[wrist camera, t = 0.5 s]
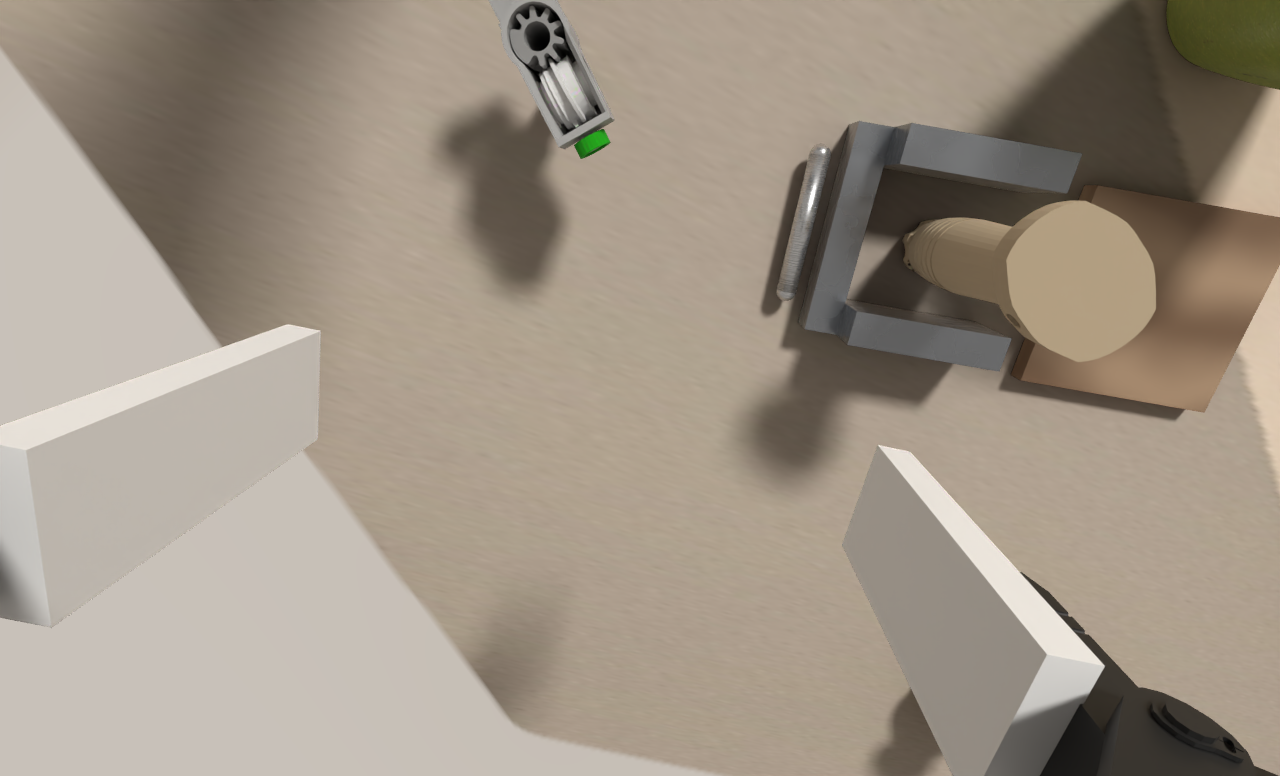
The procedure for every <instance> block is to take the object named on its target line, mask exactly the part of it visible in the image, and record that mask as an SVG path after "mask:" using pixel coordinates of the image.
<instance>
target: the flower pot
mask: <svg viewBox="0 0 1280 776" xmlns="http://www.w3.org/2000/svg"><path fill="white" fill-rule="evenodd" d="M1166 12H1167V27H1168V31H1169V34H1170V37H1171V40H1172V43H1173V44H1174V46H1175V48H1176V49H1177V50H1178V52H1179V53H1180V54H1181V55H1182V56H1183V57H1184V58H1185V59H1186V60H1188V61H1189V62H1191V63H1193V64H1195V65H1197V66H1199V67H1202V68H1204V69H1206V70H1209V71H1212V72H1215V73H1218V74H1222V75H1225V76H1228V77H1231V78H1235V79H1238V80H1242V81H1245V82H1249V83H1253V84H1257V85H1261V86H1266V87H1270V88H1275V89H1279V90H1280V0H1168V2H1167V10H1166Z"/></svg>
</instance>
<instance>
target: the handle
mask: <svg viewBox="0 0 1280 776" xmlns="http://www.w3.org/2000/svg"><path fill="white" fill-rule="evenodd" d="M903 243H904V245H905V257H904V258H903V262H904V263H905V265H906V266H907V267H908V268H909V269H910V270H912V271H916V272H917V273H918V274H919V275H920V276H921V277H923V278H924V279H925V280H927V281H929V282H931V283H932V284H934V285H936V286H938V287H940V288H942V289H945V290H947V291H950V292H952V293H955V294H959V295H963V296H967V297H971V298H975V299H980V300H984V301H988V302H992V303H996V304H999V306H1000V309H1001V310H1002V312H1003V314H1004V316H1005V317H1006V318H1007V319H1008V321H1009V322H1010V323H1011V324H1012V325H1013V326H1014V327H1015V328H1016V329H1017V330H1018V331H1019V332H1020V333H1021V334H1022V335H1023V336H1024V337H1026V338H1027V339H1029V340H1031V341H1033V342H1034V343H1036V344H1038V345H1040V346H1043V347H1045V348H1047V349H1049V350H1051V351H1053V352H1056V353H1058V354H1060V355H1062V356H1065V357H1067V358H1069V359H1072V360H1074V361H1076V362H1084V361H1090V360H1095V359H1099V358H1101V357H1103V356H1106V355H1108V354H1111V353H1112V352H1114V351H1116V350H1117V349H1119V348H1121V347H1122V346H1124V345H1125V344H1127V343H1128V342H1129V341H1130V340H1132V339H1133V338H1134V337H1135V336H1136V335H1137V334H1139V333H1140V332H1141V331H1142V330H1143V329H1144V327H1145V326H1146V325H1147V323H1148V322H1149V320H1150V319H1151V317H1152V316H1153V314H1154V312H1155V310H1156V282H1155V271H1154V265H1153V262H1152V260H1151V258H1150V256H1149V253H1148V252H1147V250H1146V248H1145V247H1144V245H1143V244H1142V242H1141V241H1140V239H1139V237H1138V236H1137V234H1136V233H1135V231H1134V230H1133V229H1132V228H1131V227H1130V225H1129V224H1128V223H1127V222H1126V221H1124V220H1123V219H1121V218H1120V217H1118V216H1117V215H1115V214H1113V213H1111V212H1109V211H1107V210H1105V209H1103V208H1100V207H1098V206H1096V205H1094V204H1092V203H1089V202H1087V201H1074V200H1071V201H1063V202H1056V203H1053V204H1049V205H1046V206H1043V207H1041V208H1039V209H1037V210H1035V211H1033V212H1031V213H1030V214H1028V215H1027V216H1025V217H1024V218H1022V219H1021V220H1020V221H1019V222H1018V223H1016V224H1015V225H1014V226H1013V227H1011V226H1007V225H1003V224H999V223H995V222H991V221H987V220H982V219H974V218H946V219H940V220H935V219H932V220H926V221H923V222H921V223H920V224H919V226H918V227H917V228H916V229H915V230H914V231H912V232H911V233H907V234H905V236H904V238H903Z"/></svg>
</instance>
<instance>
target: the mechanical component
mask: <svg viewBox="0 0 1280 776" xmlns="http://www.w3.org/2000/svg"><path fill="white" fill-rule="evenodd" d="M489 2H490V4H491V6H492V8H493V10H494V12H495V14H496V16H497V18H498V20H499V22H500V24H499V26H500V28H501V36H502V43H503V46H504V49H505V51H506V53H507V55H508V57H509V58H510V59H511V61H512V62H513V63H514V64H515V65H516V66H517V67H518V69H519V71H520V73H521V75H522V77H523V79H524V81H525V83H526V85H527V87H528V89H529V91H530V92H531V94H532V96H533V98H534V100H535V102H536V104H537V106H538V108H539V110H540V112H541V114H542V116H543V118H544V120H545V122H546V123H547V125H548V127H549V129H550V131H551V133H552V135H553V137H554V139H555V141H556V143H557V145H558V147H560V148H563V149H566V148H568V147H569V146H571V145H573V144H574V143H576V142H577V143H576V144H575V145H574V146H575V148H576V150H577V152H578V154H579V156H580V158H581V159H583V158H585V157H588V156H590V155H592V154H594V153H596V152H597V151H599V150H601V149H602V148H604V147H606V146H607V145H608V144H610V141H609V139H608V136H607V134H606V132H605V130H604V129H601V128H602V127H604V126H606V125H608V124H609V123H611V122H613V121H614V117H613V115H612V113H611V110H610V108H609V106H608V104H607V102H606V100H605V98H604V96H603V94H602V91H601V89H600V87H599V85H598V83H597V81H596V79H595V77H594V75H593V73H592V71H591V69H590V67H589V65H588V63H587V61H586V58H585V56H584V54H583V52H582V49H581V47H580V43H579V39H578V36H577V34H576V32H575V30H574V29H573V27H572V25H571V24H570V22H569V20H568V19H567V17H566V16H565V14H564V12H563V11H562V9H561V7H560V5H559V3H558V1H557V0H489ZM599 129H601V130H599ZM597 130H598V131H597ZM578 141H579V142H578Z"/></svg>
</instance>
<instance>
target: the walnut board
mask: <svg viewBox="0 0 1280 776" xmlns="http://www.w3.org/2000/svg"><path fill="white" fill-rule="evenodd" d="M1078 201H1087V202H1089V203H1092V204H1094V205H1096V206H1098V207H1100V208H1103V209H1105V210H1107V211H1109V212H1111V213H1113V214H1115V215H1117V216H1118V217H1120V218H1121V219H1123V220H1124V221H1126V222H1127V223H1128V224H1129V225H1130V227H1131V228H1132V229H1133V230H1134V231H1135V233H1136V234H1137V236H1138V237H1139V239H1140V241H1141V242H1142V244H1143V245H1144V247H1145V248H1146V250H1147V252H1148V253H1149V256H1150V258H1151V260H1152V262H1153V265H1154V271H1155V282H1156V310H1155V312H1154V314H1153V316H1152V317H1151V319H1150V320H1149V322H1148V323H1147V325H1146V326H1145V327H1144V329H1143V330H1142V331H1141V332H1140V333H1139V334H1137V335H1136V336H1135V337H1134V338H1133V339H1132V340H1130V341H1129V342H1128V343H1127V344H1125V345H1124V346H1122V347H1121V348H1119V349H1117V350H1116V351H1114V352H1112V353H1111V354H1108V355H1106V356H1103V357H1101V358H1099V359H1095V360H1090V361H1084V362H1076V361H1074V360H1072V359H1069V358H1067V357H1065V356H1062V355H1060V354H1058V353H1056V352H1053V351H1051V350H1049V349H1047V348H1045V347H1043V346H1040V345H1038V344H1036V343H1034V342H1033V341H1031V340H1029V339H1027V338H1026V337H1025V339H1024V342H1023V344H1022V347H1021V350H1020V352H1019V355H1018V357H1017V360H1016V362H1015V365H1014V368H1013V370H1012V373H1011V375H1012V376H1014V377H1016V378H1017V379H1019V380H1021V381H1027V382H1033V383H1038V384H1044V385H1050V386H1055V387H1061V388H1067V389H1073V390H1078V391H1084V392H1090V393H1095V394H1101V395H1107V396H1113V397H1118V398H1124V399H1130V400H1135V401H1141V402H1147V403H1153V404H1158V405H1164V406H1170V407H1175V408H1181V409H1187V410H1192V411H1198V412H1205V410H1206V408H1207V406H1208V404H1209V402H1210V400H1211V398H1212V396H1213V394H1214V392H1215V391H1216V389H1217V387H1218V385H1219V383H1220V381H1221V379H1222V377H1223V375H1224V373H1225V371H1226V369H1227V367H1228V365H1229V363H1230V361H1231V359H1232V357H1233V355H1234V353H1235V351H1236V349H1237V347H1238V346H1239V344H1240V342H1241V340H1242V338H1243V336H1244V334H1245V332H1246V330H1247V328H1248V326H1249V324H1250V322H1251V320H1252V318H1253V316H1254V314H1255V312H1256V310H1257V308H1258V306H1259V304H1260V302H1261V301H1262V299H1263V297H1264V295H1265V293H1266V291H1267V289H1268V287H1269V285H1270V283H1271V281H1272V279H1273V277H1274V275H1275V273H1276V271H1277V269H1278V267H1279V265H1280V217H1274V216H1268V215H1263V214H1257V213H1251V212H1246V211H1240V210H1235V209H1229V208H1223V207H1218V206H1212V205H1206V204H1201V203H1195V202H1189V201H1184V200H1178V199H1173V198H1167V197H1161V196H1156V195H1150V194H1144V193H1139V192H1133V191H1127V190H1122V189H1116V188H1111V187H1105V186H1099V185H1084V187H1083V190H1082V193H1081V195H1080V198H1079V200H1078Z"/></svg>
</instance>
